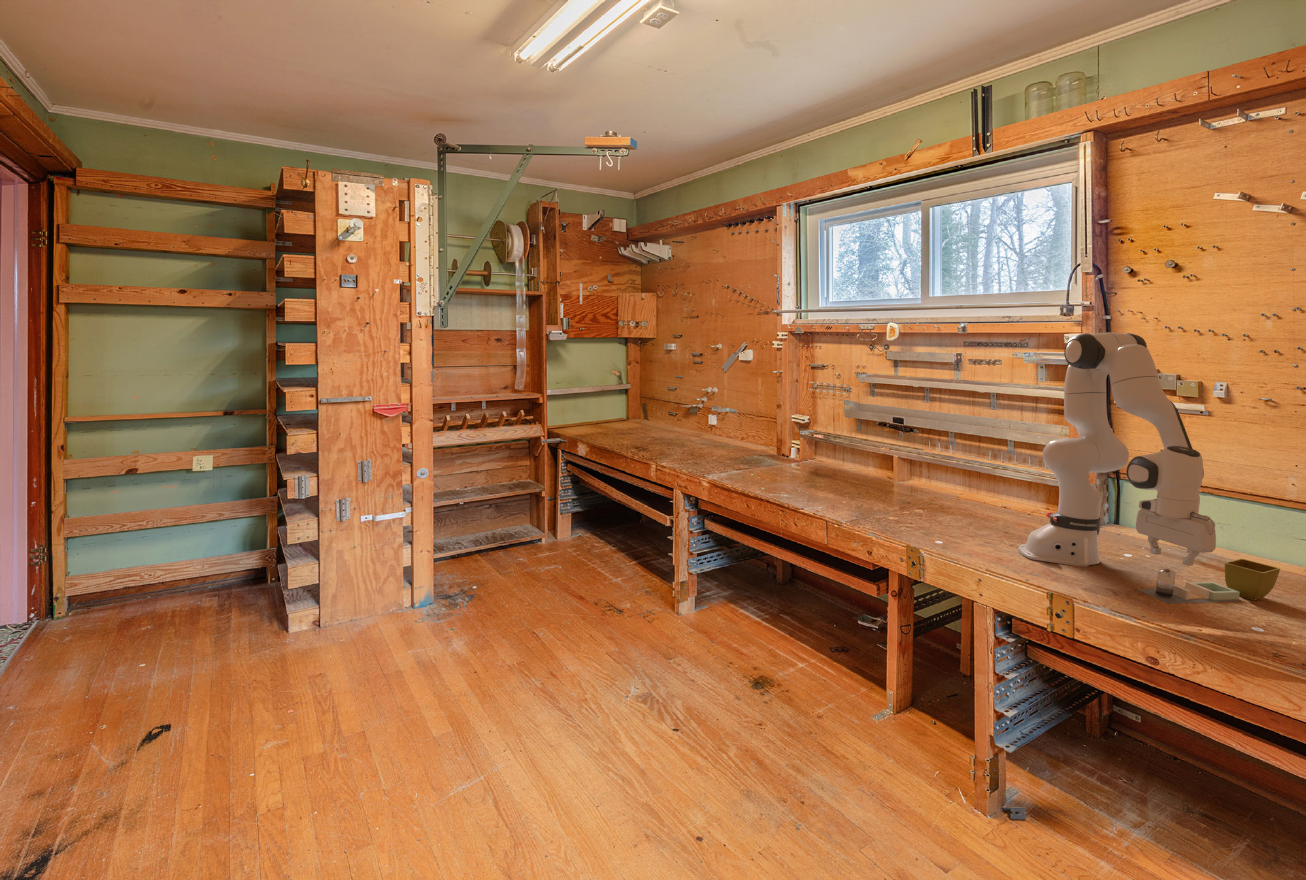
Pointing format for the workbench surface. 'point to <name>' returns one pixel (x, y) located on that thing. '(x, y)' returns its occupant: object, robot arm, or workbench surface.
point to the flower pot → (1250, 578)
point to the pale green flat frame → (1219, 591)
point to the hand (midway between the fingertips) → (1171, 559)
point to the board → (1179, 600)
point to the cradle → (1191, 591)
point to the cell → (1165, 583)
